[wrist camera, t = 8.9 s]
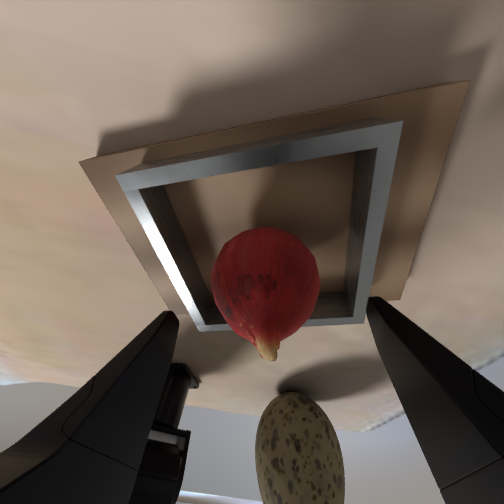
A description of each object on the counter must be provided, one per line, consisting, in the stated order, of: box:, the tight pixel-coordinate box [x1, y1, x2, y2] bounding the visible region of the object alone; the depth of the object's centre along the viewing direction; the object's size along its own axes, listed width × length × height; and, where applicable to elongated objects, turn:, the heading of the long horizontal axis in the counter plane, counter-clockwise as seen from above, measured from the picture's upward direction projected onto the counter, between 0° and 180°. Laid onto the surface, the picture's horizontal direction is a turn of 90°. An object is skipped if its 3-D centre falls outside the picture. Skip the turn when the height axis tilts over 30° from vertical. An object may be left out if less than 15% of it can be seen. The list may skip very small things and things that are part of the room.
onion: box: [211, 227, 320, 361], centre depth 11 cm, size 6×6×8 cm
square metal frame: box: [115, 117, 403, 332], centre depth 14 cm, size 13×13×2 cm
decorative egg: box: [255, 392, 345, 504], centre depth 26 cm, size 11×11×15 cm
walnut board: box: [79, 80, 470, 315], centre depth 15 cm, size 14×20×2 cm
